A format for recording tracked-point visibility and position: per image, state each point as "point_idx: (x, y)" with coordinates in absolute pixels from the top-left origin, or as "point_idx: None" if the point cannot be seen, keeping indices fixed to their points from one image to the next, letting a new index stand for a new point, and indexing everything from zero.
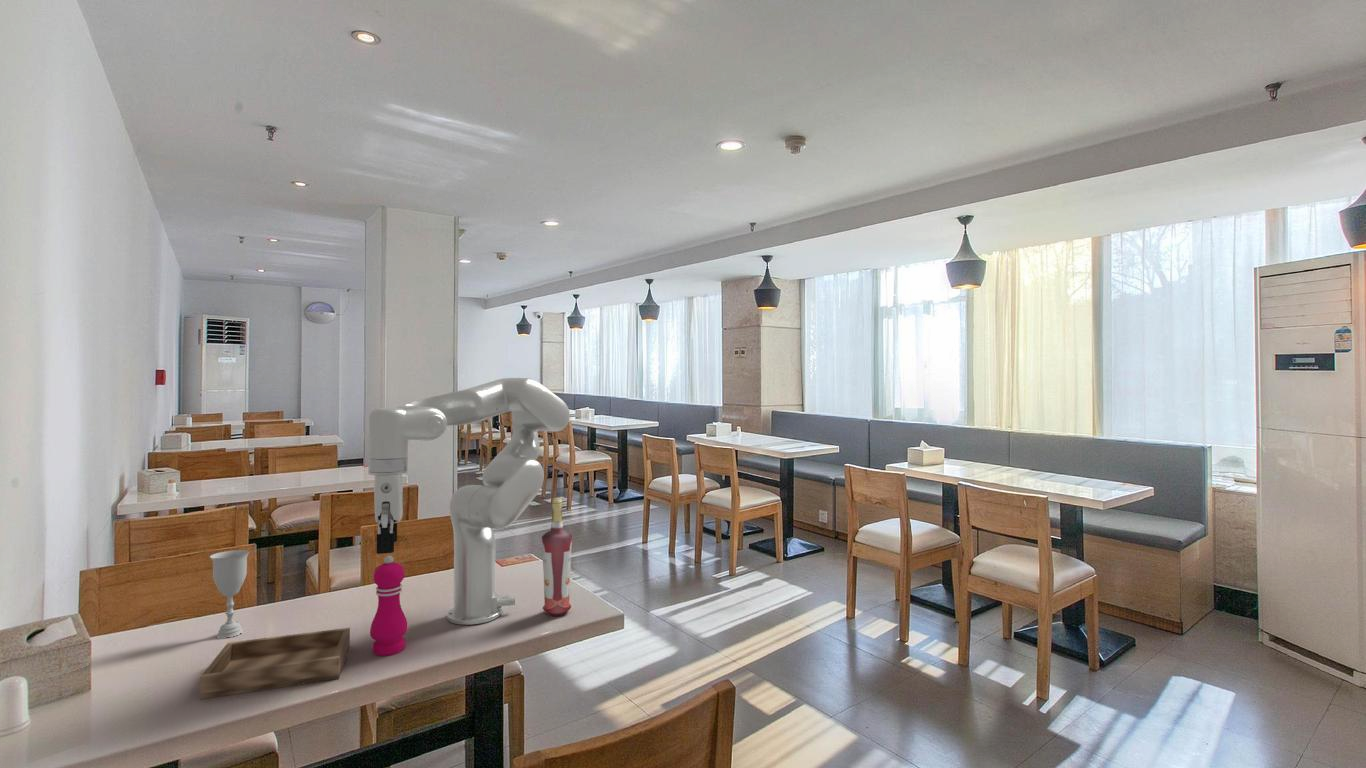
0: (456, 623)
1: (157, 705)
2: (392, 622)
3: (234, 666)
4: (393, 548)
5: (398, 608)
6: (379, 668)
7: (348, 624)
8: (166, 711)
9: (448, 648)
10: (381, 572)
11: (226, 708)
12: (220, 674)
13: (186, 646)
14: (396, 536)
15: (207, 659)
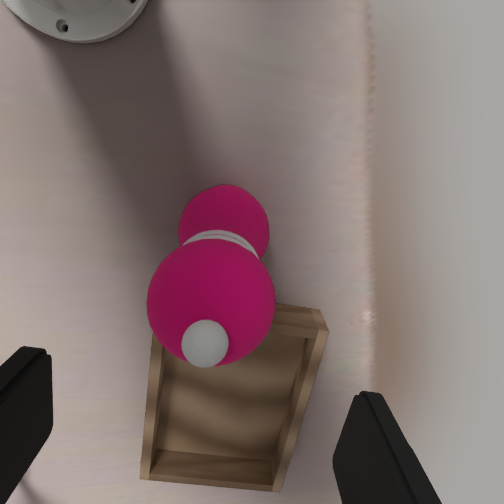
0: (130, 24)
1: (265, 492)
2: (263, 236)
3: (193, 443)
4: (390, 411)
5: (240, 227)
6: (315, 244)
7: (20, 283)
8: (291, 483)
9: (293, 88)
10: (255, 347)
11: (328, 432)
12: (285, 473)
13: (46, 495)
14: (18, 373)
15: (120, 468)
